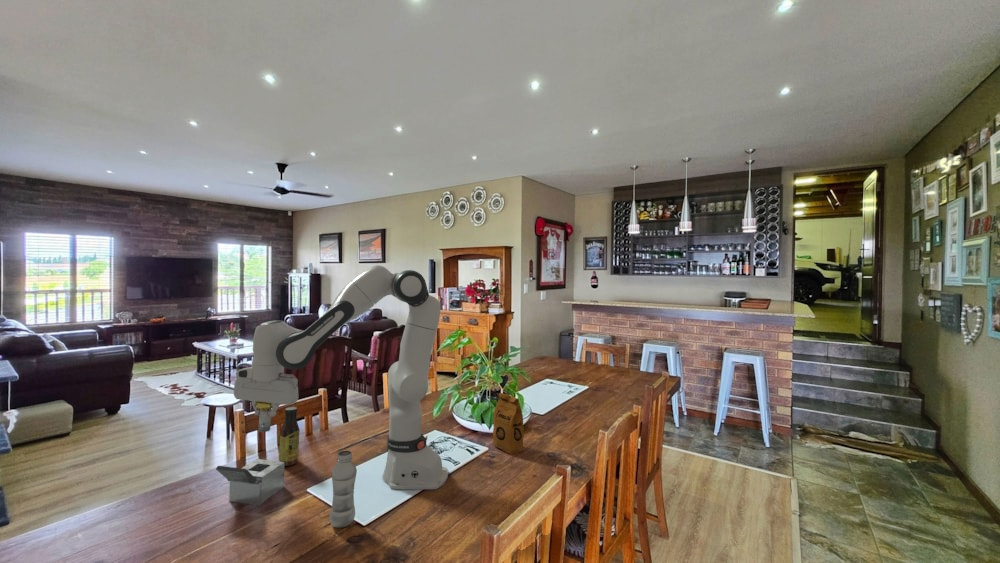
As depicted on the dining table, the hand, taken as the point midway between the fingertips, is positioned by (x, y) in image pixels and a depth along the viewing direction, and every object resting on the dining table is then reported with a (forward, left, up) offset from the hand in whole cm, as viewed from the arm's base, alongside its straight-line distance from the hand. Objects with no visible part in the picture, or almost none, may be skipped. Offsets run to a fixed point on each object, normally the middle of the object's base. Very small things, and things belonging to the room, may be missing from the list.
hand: (265, 415), depth 128 cm
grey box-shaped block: (+1, +1, -24) cm, 24 cm away
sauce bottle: (+5, -19, -25) cm, 31 cm away
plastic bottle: (-33, +10, -25) cm, 42 cm away
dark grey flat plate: (+1, +10, -15) cm, 18 cm away
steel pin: (0, 0, -5) cm, 5 cm away
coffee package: (-72, -49, -25) cm, 91 cm away
